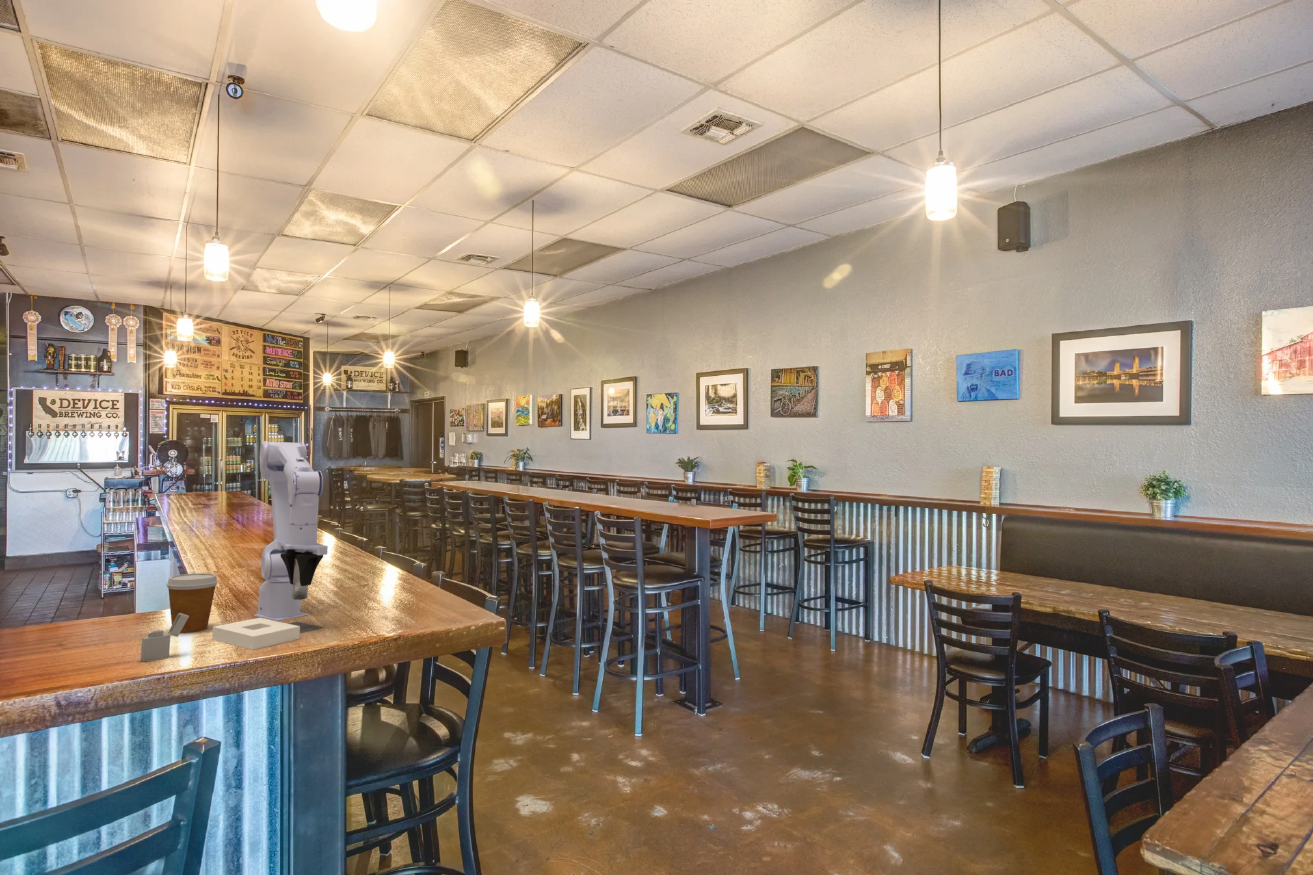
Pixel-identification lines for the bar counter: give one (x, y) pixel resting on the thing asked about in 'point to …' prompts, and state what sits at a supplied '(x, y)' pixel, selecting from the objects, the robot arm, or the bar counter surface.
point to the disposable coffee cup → (192, 599)
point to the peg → (298, 584)
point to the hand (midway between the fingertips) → (300, 584)
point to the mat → (305, 626)
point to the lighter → (161, 640)
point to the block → (256, 633)
